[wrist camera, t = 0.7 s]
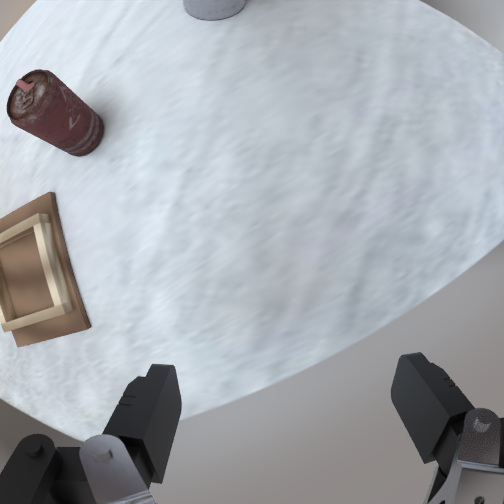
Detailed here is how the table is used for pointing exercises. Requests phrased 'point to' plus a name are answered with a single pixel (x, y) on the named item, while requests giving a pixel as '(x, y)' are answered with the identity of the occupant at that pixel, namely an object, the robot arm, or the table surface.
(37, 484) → the robot arm
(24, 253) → the tray
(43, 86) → the can
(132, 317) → the table surface
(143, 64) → the table surface
